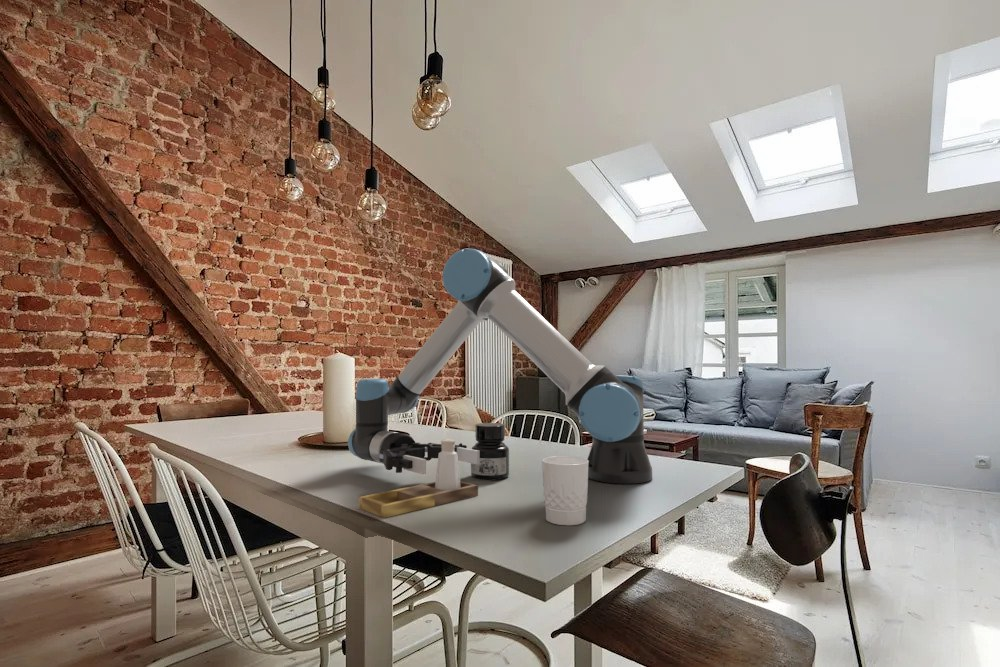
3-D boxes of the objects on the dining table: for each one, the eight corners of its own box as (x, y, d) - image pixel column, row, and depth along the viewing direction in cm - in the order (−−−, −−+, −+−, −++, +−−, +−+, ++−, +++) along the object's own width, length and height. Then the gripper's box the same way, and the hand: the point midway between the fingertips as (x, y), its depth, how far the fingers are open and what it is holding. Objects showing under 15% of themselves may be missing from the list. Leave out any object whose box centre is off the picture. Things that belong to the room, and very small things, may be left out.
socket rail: (451, 488, 111) (451, 478, 111) (478, 495, 105) (478, 485, 105) (359, 507, 96) (359, 496, 97) (384, 517, 90) (384, 506, 90)
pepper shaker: (449, 490, 109) (449, 437, 110) (467, 495, 105) (467, 439, 106) (428, 495, 105) (428, 440, 106) (446, 500, 102) (446, 442, 102)
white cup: (532, 520, 89) (532, 460, 89) (559, 510, 95) (559, 454, 95) (572, 530, 84) (572, 466, 84) (597, 519, 90) (597, 459, 90)
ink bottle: (464, 479, 119) (464, 426, 120) (474, 471, 128) (475, 421, 128) (506, 482, 117) (506, 427, 118) (514, 473, 126) (514, 422, 126)
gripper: (437, 458, 128) (498, 471, 113) (342, 474, 111) (398, 492, 96) (437, 427, 129) (498, 436, 113) (343, 438, 111) (398, 450, 96)
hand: (452, 461), depth 104 cm, fingers open, 13 cm apart
